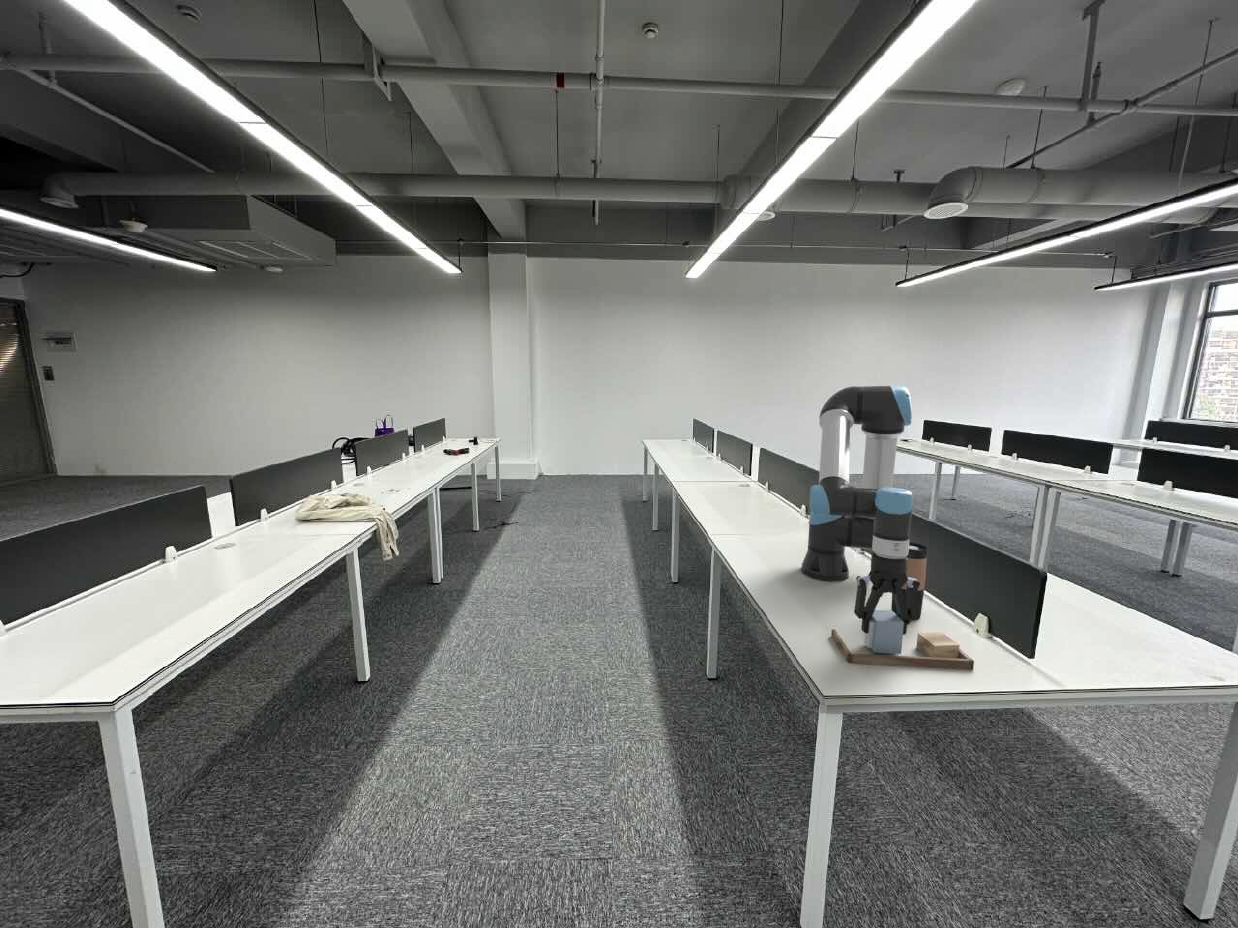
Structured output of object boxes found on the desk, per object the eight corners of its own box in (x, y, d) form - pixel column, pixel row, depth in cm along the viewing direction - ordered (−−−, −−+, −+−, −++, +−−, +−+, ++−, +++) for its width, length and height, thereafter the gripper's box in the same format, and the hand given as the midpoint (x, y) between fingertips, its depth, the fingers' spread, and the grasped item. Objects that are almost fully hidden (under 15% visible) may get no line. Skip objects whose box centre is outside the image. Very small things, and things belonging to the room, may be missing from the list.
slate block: (864, 639, 120) (866, 609, 119) (889, 640, 120) (892, 610, 119) (874, 652, 114) (876, 620, 113) (901, 653, 114) (903, 621, 113)
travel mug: (926, 621, 132) (932, 551, 129) (895, 619, 133) (901, 549, 130) (915, 609, 139) (921, 542, 136) (886, 607, 141) (891, 541, 138)
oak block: (916, 648, 119) (917, 632, 118) (939, 647, 119) (941, 632, 118) (933, 661, 113) (934, 645, 112) (957, 660, 113) (959, 644, 113)
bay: (831, 636, 124) (831, 629, 124) (942, 641, 121) (943, 634, 121) (848, 663, 112) (849, 655, 112) (973, 669, 109) (974, 661, 109)
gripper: (853, 558, 111) (847, 651, 114) (941, 560, 109) (932, 655, 112) (842, 547, 118) (836, 635, 122) (924, 549, 116) (916, 639, 120)
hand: (882, 645), depth 117 cm, fingers closed on slate block, 6 cm apart
